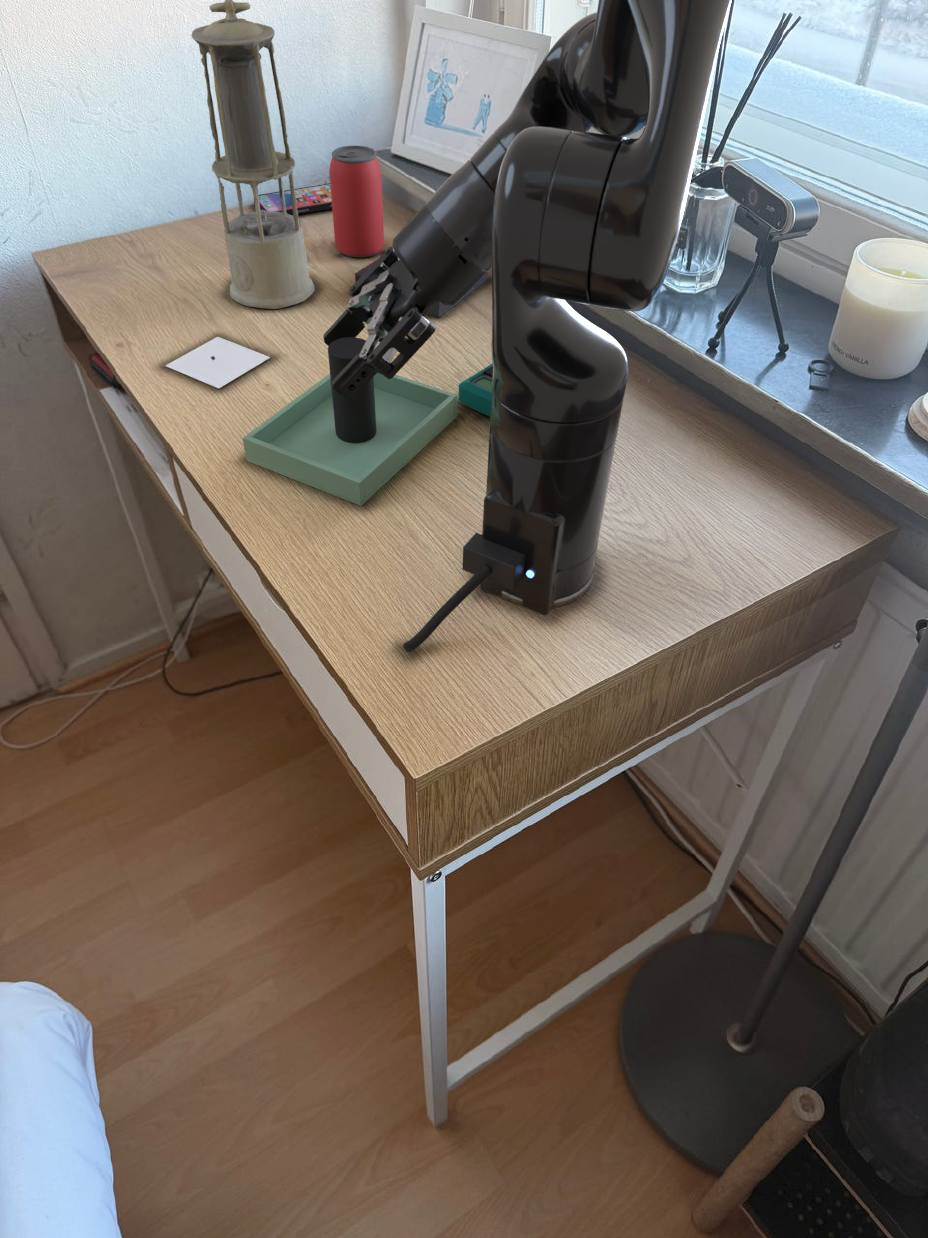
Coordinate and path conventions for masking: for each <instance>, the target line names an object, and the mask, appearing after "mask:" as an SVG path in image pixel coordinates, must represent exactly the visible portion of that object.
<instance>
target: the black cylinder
mask: <svg viewBox="0 0 928 1238" xmlns="http://www.w3.org/2000/svg"><path fill="white" fill-rule="evenodd" d="M366 340H367V339H364V338H361V337H357V336H356V337H346V338H340V339H337V340H335V341H333V342H332V343H330V345H329V346H328V345H327V346H328V347H327V356H328V357H327V358H328V366H329V374H330V378H331V388H332V399H333V409H334V420H335V430H336V435H337V437H338V438H339V439H341V440H342V441H345V442H348V443H362V442H366V441H368V440H370V439H372V438H373V437H374V436H375V435H376V412H375V394H374V377H373V378H372V379H371V380H370V381H369V382H368V383H367V384H366V385H365V386H364V387H363V388H362V389H361V390H360V391H359V392H358V393H357V394H356V395H355V396H354V397H353V398H352V399H346V398H344V397H343V396H342V395H340V394H339V393H338V392H336V391H335V390H334V389H333V384H332V381H333V380H334V378H335V377H336V376H337V375H338V374H339V373H340V372H341V371H342V370H343V369H344V368H345V367H346V366H347V365H348V364H349V363H350V361H351V360H352V359H353V358H354V357H355V356H356V355H357V354H360V352H361V350H362V348H363V346H364V344H365V342H366Z"/></svg>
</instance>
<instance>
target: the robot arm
mask: <svg viewBox="0 0 928 1238" xmlns="http://www.w3.org/2000/svg"><path fill="white" fill-rule="evenodd" d="M731 4H732V0H598V3H597V9H596V10H597V11H596V12H592V13H590V14H588V15H585V16H584V17H582V18H580V20H577V22H575V23H574V24H573V25H572V26H570V27H569V28H568V29H567V30H566V31H565V32H564V33H563V34H562V35H561V36H560V37H559V38H558V39H557V41H556V42H555V43H554V44H553V46H552V47H551V48H550V50H549V51H548V52H547V54H546V55H545V57H544V59H543V60H542V61H541V63H540V64H539V66H538V67H537V69H536V70H535V72H534V73H533V75H532V77H531V78H530V80H529V82H528V83H527V85H526V86H525V88H524V90H523V91H522V92H521V95H520V96H519V98H518V100H517V101H516V104H515V105H514V108H513V109H512V111H511V112H510V113H509V115H508V117H507V118H506V119H505V120H504V121H503V122H502V123H501V124H500V125H499V126H498V127H497V128H496V129H495V130H494V131H493V133H491V134H490V135H489V137H488V138H486V140H485V141H484V142H483V144H481V145H480V146H479V148H477V150H476V151H475V152H474V153H473V154H472V155H471V157H470V159H468V160H467V161H466V162H465V163H464V164H463V165H461V166H460V167H459V168H458V169H457V170H456V171H454V172H453V173H452V174H451V175H450V176H449V177H447V178H446V180H445V181H444V182H443V183H442V184H441V185H440V186H439V187H438V188H437V189H436V191H434V192H433V194H432V195H431V196H430V197H429V198H428V200H427V201H426V202H424V204H423V205H422V207H420V208H419V210H417V212H416V213H415V214H414V215H413V216H412V217H411V218H410V220H409V221H408V222H407V223H406V224H405V225H404V226H403V227H402V228H401V230H400V231H399V232H398V233H397V234H396V235H395V236H394V238H393V240H392V246H389V247H388V248H386V250H385V251H384V252H383V253H382V254H381V255H380V256H379V257H378V258H379V259H378V258H377V259H378V260H377V259H376V260H377V261H376V262H375V263H374V264H373V265H372V266H371V267H370V268H369V269H368V270H367V271H366V272H365V273H364V274H363V276H362V277H361V278H360V279H359V280H358V281H357V282H356V281H355V283H354V284H353V285H352V286H351V287H350V289H349V291H348V294H349V295H350V296H351V298H350V299H349V300H348V301H347V303H346V309H345V310H344V311H343V313H341V315H340V316H339V317H338V318H337V319H336V320H335V322H333V324H332V325H330V327H329V328H328V329H327V330H326V331H325V332H324V334H323V343H324V344H325V345H326V346H329V345H330V343H332V342H333V341H335V340H337V339H340V338H346V337H356V338H357V337H358V336H359V335H360V333H362V331H363V330H364V329H365V328H366V331H367V334H368V336H367V338H366V339H365V340H366V342H365V344H364V346H363V348H362V350H361V352H360V354H357V355H356V356H355V357H354V358H353V359H352V360H351V361H350V363H349V364H348V365H347V366H346V367H345V368H344V369H343V370H342V371H341V372H340V373H339V374H338V375H337V376H336V377H335V378H334V380H333V381H332V384H333V389H334V390H335V391H336V392H338V393H339V394H340V395H342V396H343V397H344V398H346V399H352V398H353V397H354V396H355V395H356V394H357V393H358V392H359V391H360V390H361V389H362V388H363V387H364V386H365V385H366V384H367V383H368V382H369V381H370V380H371V379H372V378H373V377H374V376H375V375H376V374H377V373H380V374H382V375H384V376H385V377H386V378H387V379H391V378H393V377H394V376H395V375H398V373H399V372H400V370H402V368H403V367H405V365H406V364H407V363H408V362H409V361H410V359H412V357H413V356H414V355H416V353H417V352H418V351H419V350H420V349H421V348H422V347H423V346H424V345H425V344H426V342H427V341H428V340H429V339H430V338H431V337H432V336H433V334H435V332H436V325H434V324H433V323H432V322H431V321H430V320H429V319H428V318H427V317H426V316H427V315H428V314H427V312H428V311H429V310H430V308H431V307H432V305H433V304H434V303H435V302H442V303H443V304H444V305H447V306H453V307H455V306H456V305H457V304H459V303H460V302H461V301H462V300H463V299H462V298H463V297H464V296H465V295H466V294H467V293H468V292H469V291H470V290H471V288H472V287H473V286H474V285H475V284H476V283H477V282H478V281H479V280H480V279H481V278H482V277H483V276H484V275H485V274H486V273H487V274H488V273H489V271H490V270H491V290H492V291H491V292H492V293H491V295H492V296H491V317H492V318H491V343H490V345H491V346H490V348H491V349H490V351H491V362H492V363H493V378H492V399H491V417H489V431H488V432H489V435H488V450H487V451H488V453H487V470H486V471H487V473H486V488H485V489H486V491H485V496H484V499H483V510H482V512H483V513H482V528H481V529H482V530H481V533H479V532H475V533H474V534H473V535H472V536H471V537H470V539H468V541H467V542H466V543H465V544H464V545H463V547H462V568H461V569H462V571H464V572H468V573H470V574H471V575H472V577H471V578H469V579H468V580H467V581H466V582H465V583H464V584H463V585H462V586H461V587H460V588H459V589H458V590H457V591H456V592H455V593H454V594H453V595H452V596H451V597H450V598H449V599H447V601H445V603H444V604H443V605H442V606H441V607H440V608H439V609H438V610H437V611H436V612H435V613H434V614H433V615H432V616H431V617H430V619H429V620H428V621H427V622H426V623H425V625H423V627H422V628H421V629H420V630H419V631H418V632H417V633H416V634H415V635H413V637H411V638H410V639H409V640H408V641H406V642H404V643H403V644H402V646H403V649H404V650H405V652H407V653H411V652H413V651H415V650H416V649H418V648H419V647H420V646H421V645H422V644H423V643H424V642H425V641H427V640H428V639H429V637H430V636H431V635H432V634H433V633H434V632H435V630H436V629H437V628H438V627H439V626H440V625H441V624H442V623H443V622H444V620H445V619H446V618H448V616H449V615H450V614H451V613H452V612H454V610H455V609H456V608H457V607H458V606H460V604H461V603H462V602H464V600H465V599H466V598H467V597H468V596H469V595H470V594H472V593H473V592H474V591H475V590H476V589H477V588H478V587H479V589H480V590H482V591H484V592H488V593H490V594H492V595H493V596H496V597H498V598H501V599H504V600H505V601H508V602H510V603H513V604H514V605H518V606H520V607H523V608H526V609H527V610H531V611H532V612H535V613H538V614H540V615H543V616H547V615H548V614H550V612H551V610H553V609H554V608H557V607H561V606H565V605H568V604H570V603H572V602H575V601H576V600H578V599H579V598H581V597H582V596H583V595H584V594H586V593H587V591H589V588H590V587H591V585H592V583H593V580H594V574H595V568H596V567H595V563H596V557H597V552H598V545H599V540H600V532H601V527H602V522H603V515H604V511H605V505H606V499H607V493H608V487H609V482H610V475H611V469H612V464H613V459H614V454H615V447H616V442H617V437H618V431H619V427H620V426H619V425H620V421H621V415H622V409H623V403H624V398H625V395H626V388H627V382H628V377H629V361H628V356H627V353H626V351H625V350H624V348H623V347H622V345H621V344H620V343H619V342H618V340H617V339H616V338H615V337H614V336H612V335H611V333H609V332H607V331H606V330H604V329H603V328H601V327H599V326H598V325H596V324H595V323H593V322H592V321H590V320H589V319H587V318H586V317H584V316H583V315H581V314H580V313H579V312H578V311H577V310H575V309H574V308H573V306H572V305H570V304H569V302H573V303H577V304H582V305H589V306H595V307H598V308H605V309H610V310H615V311H622V312H640V311H643V310H644V309H646V308H647V307H649V306H650V305H651V304H652V303H653V301H655V299H656V297H657V296H658V295H659V292H661V291H660V290H661V288H662V286H663V284H664V282H665V280H666V277H667V275H668V272H669V269H670V266H671V263H672V261H673V257H674V254H675V251H676V246H677V243H678V238H679V235H680V230H681V225H682V221H683V217H684V213H685V208H686V205H687V199H688V195H689V190H690V186H691V185H690V184H691V180H692V175H693V171H694V165H695V161H696V156H697V152H698V147H699V142H700V137H701V133H702V127H703V124H704V119H705V115H706V114H705V113H706V109H707V104H708V99H709V95H710V90H711V85H712V82H713V76H714V71H715V67H716V62H717V59H718V54H719V49H720V45H721V41H722V37H723V34H724V29H725V26H726V22H727V18H728V14H729V11H730V7H731ZM592 128H593V129H594V130H595V131H597V132H598V133H597V132H589V131H590V130H591V129H592ZM642 129H643V131H642V133H641V135H640V137H637V138H632V137H631V138H630V136H632V135H634V134H636V133H638V132H640V131H641V130H642ZM369 282H370V283H369ZM461 299H462V300H461ZM460 300H461V301H460ZM459 301H460V302H459ZM458 302H459V303H458ZM454 305H455V306H454ZM365 324H366V325H367V327H366V325H365ZM397 353H398V354H397ZM396 354H397V356H395V355H396ZM492 363H491V364H492Z"/></svg>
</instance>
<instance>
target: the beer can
mask: <svg viewBox="0 0 928 1238" xmlns="http://www.w3.org/2000/svg"><path fill="white" fill-rule="evenodd" d="M377 155H378V154H377V152H376V150H374V149H373V148H371V147H369V146H365V145H343V146H340V147H337V148H335V149H334V150H333V151H332V152H331V160H330V164H329V169H328V171H329V172H328V173H329V183H330V187H331V199H332V208H331V211H332V223H333V234H334V245H335V249H336V250H337V251H338V252H339V253H340V254H343V255H344V256H347V257H351V258H369V257H373V256H375V255H377V254H378V253H380V252H381V251H382V250H383V248H384V247H385V229H384V228H385V227H384V204H383V181H382V180H383V178H382V170H381V166H380V165H381V164H380V162H379V160H378V157H377Z"/></svg>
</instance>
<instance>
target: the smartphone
mask: <svg viewBox="0 0 928 1238" xmlns="http://www.w3.org/2000/svg"><path fill="white" fill-rule="evenodd" d="M294 189H295V195H296V203H297V211H298V215H300V214H307V213H313V212H318V211H324V210H330V209H331V210H332V199H331V187H330V182H329V183H324V184H317V185H311V186H304V187H298V188H294ZM283 191H284V197H285V208H286V213H287V214H289V215H292V216H293V209H292V199H291V191H290V189H287V190H283ZM258 195H259V204H260V210H265V211H273V212H282V207H281V198H280V191H279V190H278V191H274V192H268V193H267V192H266V193H262V194H258ZM253 203H254V204H255V201H254V200H253Z"/></svg>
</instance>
